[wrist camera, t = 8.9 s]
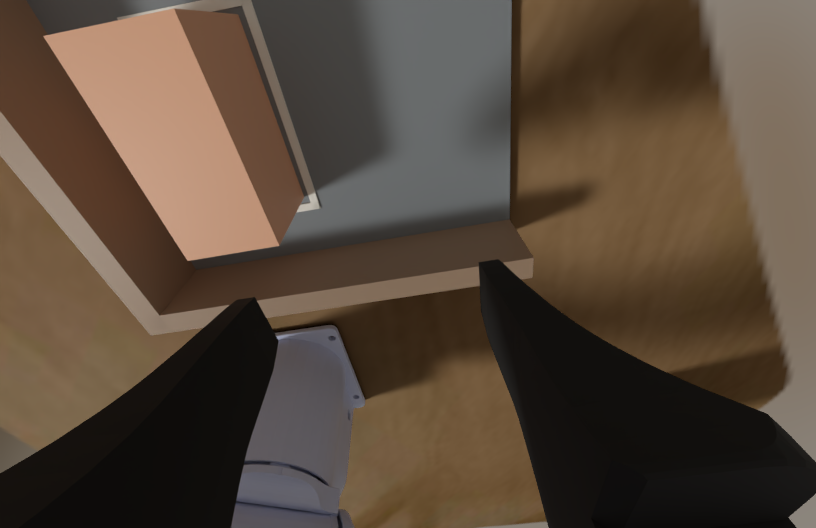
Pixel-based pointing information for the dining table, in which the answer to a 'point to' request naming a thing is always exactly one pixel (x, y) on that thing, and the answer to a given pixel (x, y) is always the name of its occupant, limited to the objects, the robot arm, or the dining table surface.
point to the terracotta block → (189, 125)
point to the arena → (293, 154)
